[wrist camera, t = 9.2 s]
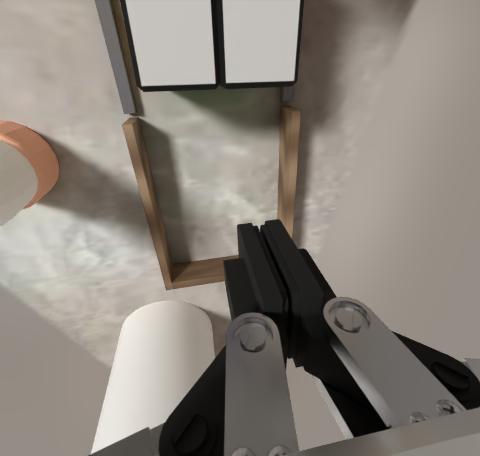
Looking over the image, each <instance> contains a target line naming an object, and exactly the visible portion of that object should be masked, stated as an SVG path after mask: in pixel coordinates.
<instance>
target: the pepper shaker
mask: <svg viewBox="0 0 480 456" xmlns="http://www.w3.org/2000/svg"><path fill="white" fill-rule="evenodd" d="M59 170H60V167H59V164H58V160H57V156H56V155H55V153H54V152H53V150H52V148H51V147H50V145H49V144H48V143H47V142H46V141H45V140H44V139H43V138H42V137H41V136H40V135H38V134H37V133H35V132H33V131H32V130H30V129H28V128H27V127H25V126H22V125H19V124H16V123H13V122H10V121H0V226H2V225H4V224H5V223H7V222H8V221H9V220H11V219H12V218H13V217H14V216H15V215H16V214H18V213H19V212H20V211H21V210H22V209H25V208H28V207H30V206H32V205H33V204H35V203H36V202H37V201H39V200H40V199H41V198H42V197H43V196H44V195H45V194H46V193H48V192H49V191H50V190H51V189H52V188H53V187H54V185H55V184H56V182H57V180H58V179H59Z"/></svg>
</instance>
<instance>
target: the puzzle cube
mask: <svg viewBox="0 0 480 456" xmlns="http://www.w3.org/2000/svg"><path fill="white" fill-rule="evenodd" d="M120 2H121V8H122V13H123V18H124V23H125V28H126V33H127V38H128V43H129V48H130V53H131V58H132V63H133V68H134V73H135V78H136V83H137V86H138V87H139V88H140V89H141V90H142V91H143V92H153V91H181V90H209V89H216V88H217V87H218V86H219V85H220V86H222V87H223V88H225V89H236V88H264V87H292V86H293V85H294V84H295V83H296V82H297V78H298V65H299V53H300V41H301V28H302V16H303V4H304V0H120Z"/></svg>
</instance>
